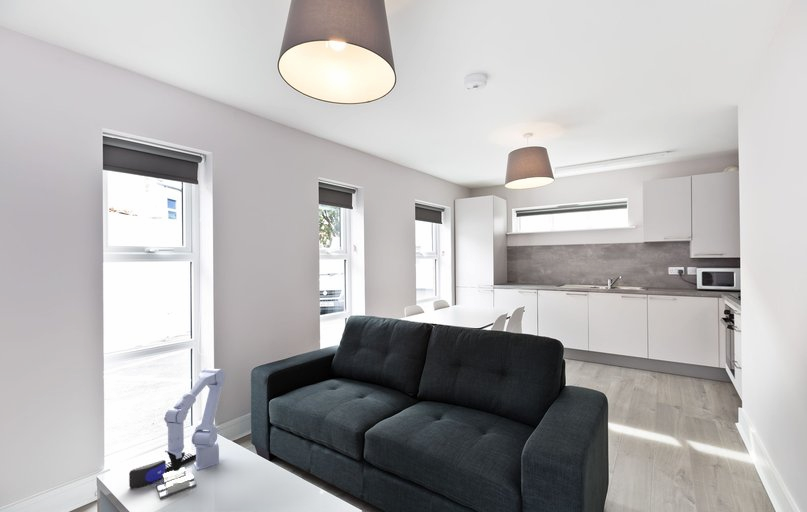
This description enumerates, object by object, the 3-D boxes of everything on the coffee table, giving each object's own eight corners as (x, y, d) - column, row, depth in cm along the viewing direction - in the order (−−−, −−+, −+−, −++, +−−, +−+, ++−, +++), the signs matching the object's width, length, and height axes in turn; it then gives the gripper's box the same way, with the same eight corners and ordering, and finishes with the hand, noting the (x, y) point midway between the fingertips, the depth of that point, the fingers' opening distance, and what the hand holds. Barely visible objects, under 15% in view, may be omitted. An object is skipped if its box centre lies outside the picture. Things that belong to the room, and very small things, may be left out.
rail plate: (190, 475, 168) (190, 464, 168) (196, 487, 159) (196, 476, 159) (156, 486, 159) (156, 475, 159) (160, 500, 150) (160, 488, 150)
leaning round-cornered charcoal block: (130, 491, 156) (130, 473, 156) (129, 487, 159) (129, 469, 159) (166, 479, 165) (166, 461, 165) (165, 475, 168) (165, 458, 168)
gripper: (162, 433, 162) (162, 464, 162) (167, 446, 151) (167, 479, 151) (180, 428, 167) (180, 459, 167) (187, 440, 156) (187, 473, 156)
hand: (176, 468), depth 159 cm, fingers open, 3 cm apart
